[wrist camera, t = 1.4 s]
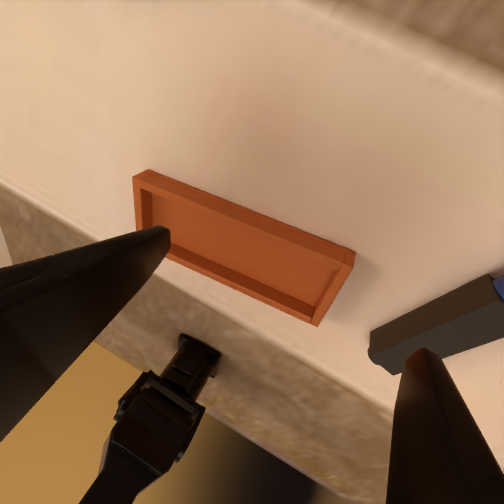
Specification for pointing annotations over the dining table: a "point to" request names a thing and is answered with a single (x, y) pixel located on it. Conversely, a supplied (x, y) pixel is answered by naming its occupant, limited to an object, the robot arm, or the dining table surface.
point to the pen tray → (243, 247)
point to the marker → (443, 325)
